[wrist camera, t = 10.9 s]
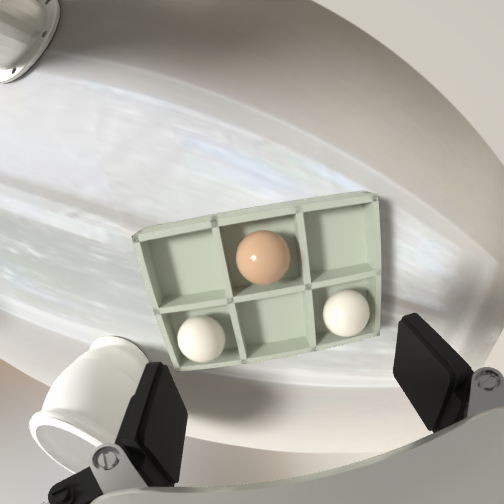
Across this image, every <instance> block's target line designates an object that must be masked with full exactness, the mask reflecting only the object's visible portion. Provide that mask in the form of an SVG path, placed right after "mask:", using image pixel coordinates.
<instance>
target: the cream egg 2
mask: <svg viewBox="0 0 504 504" xmlns="http://www.w3.org/2000/svg"><path fill="white" fill-rule="evenodd" d="M369 316H370V309H369V305H368V302H367V300H366V299H365V297H364V296H363V295H362V294H360V293H359V292H357V291H355V290H351V289H343V290H339V291H337V292H335V293H333V294H332V295H331V296H330V297H329V298H328V299H327V301H326V303H325V305H324V308H323V319H324V322H325V325H326V326H327V328H328V329H329V330H330V331H331V332H332V333H334V334H336V335H338V336H342V337H349V336H353V335H356V334H358V333H359V332H360V331H362V330H363V329H364V327H365V326H366V324H367V322H368V320H369Z"/></svg>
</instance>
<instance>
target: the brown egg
mask: <svg viewBox="0 0 504 504" xmlns="http://www.w3.org/2000/svg"><path fill="white" fill-rule="evenodd" d="M290 262H291V253H290V249H289V246H288V245H287V243H286V241H285V240H284V239H283V238H282V237H281V236H280V235H278V234H277V233H274V232H272V231H268V230H259V231H255V232H252V233H250V234H248V235H247V236H246V237H245V238H244V239H243V240H242V241H241V242H240V244H239V246H238V248H237V252H236V264H237V267H238V269H239V271H240V273H241V274H242V276H243V277H244V278H245V279H247V280H248V281H250V282H252V283H254V284H257V285H269V284H273V283H275V282H277V281H279V280H280V279H281V278H282V277H283V276H284V275H285V274H286V272H287V271H288V269H289V266H290Z"/></svg>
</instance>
